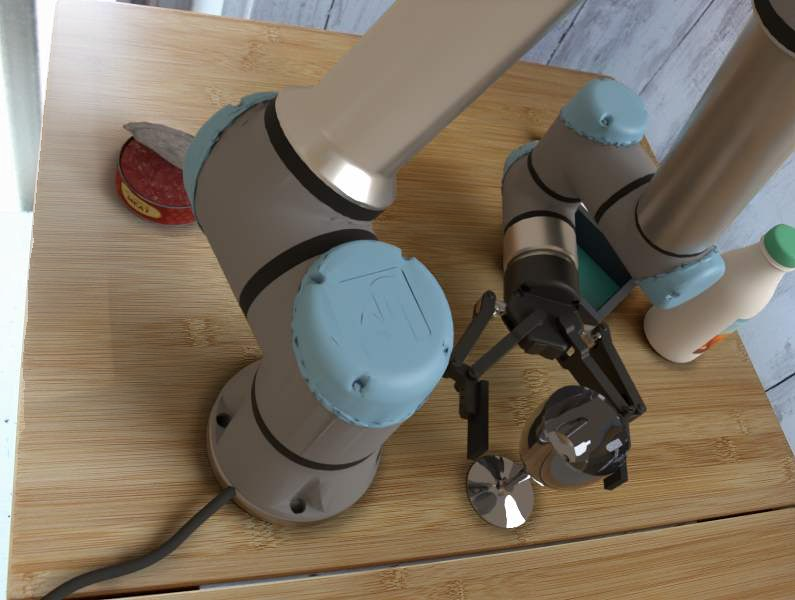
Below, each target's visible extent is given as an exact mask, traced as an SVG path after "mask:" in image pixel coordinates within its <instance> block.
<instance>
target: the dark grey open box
mask: <svg viewBox="0 0 795 600" xmlns="http://www.w3.org/2000/svg"><path fill="white" fill-rule="evenodd" d="M575 230H576V231H575V233H576V244H577V255H578V274H579V286H580V306H579V316H580V319H581V320H582V322H583V324H585V325H591V326H597V325H598V324H599V323H601V322H602V321H603V319H605V318H606V317H607V316H608V315H609V313H611V312H612V311H613V310H614V309H615V308H616V307H617V306H618V305H619V304H620V303H621V302H622V301H623V300H624V299H626V297H627V296H628V295H629V294H631V292H633V290H634V289H635V288H636V287H638V285H637V284H635V283H634V281H633V280H632V276H631V275H630V273H629V272H628V270H627V269H626V267H625V266H624V264H623V263H622V261H621V260H620V258H619V257H618V255H617V254H616V252H615V251H614V249H613V248H612V246H611V244H610V243H609V241H608V240H607V238H606V237H605V235H604V234H603V232H602V231H601V229H600V228H599V226H598V225H597V223H596V222H595V221H594V219H593V218H592V216H591V215H590V213H589V212H588V211H587V210H586V209H585V208H584V207H583V206H582V205H581V204H580V205H579V206H578V207H577V209H576V211H575ZM501 266H502V267H503V264H501Z"/></svg>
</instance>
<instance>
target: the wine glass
mask: <svg viewBox="0 0 795 600" xmlns="http://www.w3.org/2000/svg"><path fill="white" fill-rule="evenodd" d="M517 447H518V454H519V458H520V462H521V464H522V467H520V466H519V464H517V463H515V462H514V461H513V460H511V459H509V458H506V457H504V456H501V455H486V456H484V457H481V458H478V459H477V460H475V461H474V463H473V464H472V465H471V467H470V468H469V471H468V474H467V476H466V477H467V478H466V492H467V496H468V499H469V501H470V504H471V506H472V508H473V509H474V510H475V512H476V513H477V514H478V515H479V516H480V517H481V519H482V520H484V521H485V522H486V523H488V524H490V525H492V526H493V527H497V528H500V529H513V528H517V527H519V526H521V525H523V524H524V523H525V522H527V520H528V519H529V518H530V516H531V514H532V511H533V508H534V503H535V500H534V499H535V497H534V491H533V490H534V489H533V486H532V484H531V481H530V479H532V480H533V481H535V482H536V483H537V484H539V485H540V486H542V487H544V488H546V489H548V490H551V491H556V492H571V491H577V490H581V489H584V488H588V487H591V486H593V485H595V484H597V483H599V482H601V481H602V480H603V479H605V478H607V477H608V476H610V475H612V474H613V473H615V472H616V471H617V470H618V469H619V468H621V466H622V465H623V464H624V462H625V460H626V461H627V458H628V455H629V451H630V450H629V440H628V433H627V430H626V427H625V424H624V422H623V420H622V418H621V416H620V415H619V413H618V411H617V410H616V409H615V408H614V406H613V405H612V404H611V403H610V402H609V401H608V400H607V399H606V398H605V397H603V396H602V395H601V394H599V393H598V392H596V391H594V390H592V389H589V388H587V387H583V386H580V385H579V384H578V385H577V384H569V385H564V386H562V387H559V388H557V389H556V390H554V391H553V392H552V393H551V394H549V395H548V396H547V397H546V398H545V399H544V400H543V401H541V402H540V403H539V405H537V407H536V408H535V409H534V410H533V411H532V412H531V414H530V415H529V417H528V418H527V420H526V422H525V423H524V425H523V427H522V429H521V432H520V436H519V438H518V446H517ZM628 450H629V451H628Z"/></svg>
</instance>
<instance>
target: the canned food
mask: <svg viewBox="0 0 795 600" xmlns="http://www.w3.org/2000/svg"><path fill="white" fill-rule="evenodd" d="M122 128H123V129H124V130H126V131H127V132H129V133H130V134H131V136H130V137H128V138H127V139H126V141H124V143H122V145H121V147H120V149H119V150H118V154H117V155H118V156H117V163H116V168H115V173H114V179H113V180H114V187H115V191H116V194H117V196H118V197H119V199H120V201H121V202H122V203H123V205H124V206H125V207H126V208H127V209H128V210H129V211H130V212H132V213H133V214H134V215H136V216H137V217H139V218H141V219H143V220H144V221H146V222H150V223H152V224H155V225H159V226H165V227H179V226H180V227H181V226H187V225H190V224H193V223H196V222H197V220H196V218H195V216H194V214H193V212H192V205H191V203H190V200H189V198H188V195H187V192H186V190H185V186H184V181H183V165H184V160H185V156H186V153H187V150H188V148H189V145H190V144H191V142H192V140H193V138H194V136H195V135H192V134H190V133H187V132H185V131H184V130H180V129H177V128H173V127H170V126H168V125H165V124H161V123H152V122H147V121H140V122H138V121H137V122H135V121H129V122H128V123H124V124H122Z"/></svg>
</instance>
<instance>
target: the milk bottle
mask: <svg viewBox="0 0 795 600" xmlns="http://www.w3.org/2000/svg"><path fill="white" fill-rule="evenodd" d="M719 254H720V256H721V257H722V259H723V261H724V262H725V272H724V274H723V276H722V277H721V278H720V279H719V280H718V281H717V282H715V283H714V284H713V285H712V286H710V287H709V288H708V289H706V290H705V291H703V292H702V293H700V294H699V295H697V296H695V297H694V298H692V299H690V300H688V301H686V302H684V303H682V304H680V305H678V306H676V307H673V308H670V309H659V308H657V307H655V306H654V305H653V306H652V307H650V308H649V309H648V310H647V311H646V314H645V316H644V319H643V331H644V334H645V336H646V339H647V341H648V343H649V344H650V346H651V347H652V348H653V349H654V351H655V352H657V354H659V355H660V356H661V357H663V358H664V359H666V360H668V361H670V362H672V363H677V364H683V363H689V362H692V361H693V360H695V359H697V358H698V357H699V356H701V355H702V354H704V353H706V352H707V351H708V350H709V349H711V348H713V347H714V346H715V345H717V344H718V343H720V342H721V341H722V340H724V339H725V338H726V337H728V336H730V335H731V334H732V333H734V332H735V331H737V330H738V329H740V328H741V327H742V326H743V325H745V324H747V323H748V322H749V321H750V320H751V319H753V318H754V317H756V316H757V315H758V314H759V313H760V312H761V311H762V310H763V309H764V308H765V307H766V306H767V305H768V304H769V302H770V301H771V299H772V298H773V296H774V293H775V291H776V289H777V288H778V285H779V283H780V281H781V280H782V278H783V277H784V276H785V274H786V273H788V272H789V273H790V272H793V271H795V227H793V226H791V225H789V224H785V223H779V224H776V225H774V226H772V227H771V228H770V229H769V230H768V231H767V232H766V233H765V234H763V235H761V237H760V238H759V241H757V242H755V243H753V244H751V245H747V246H744V247H739V248H734V249H731V250H727V251H724V252H722V253H719Z"/></svg>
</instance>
